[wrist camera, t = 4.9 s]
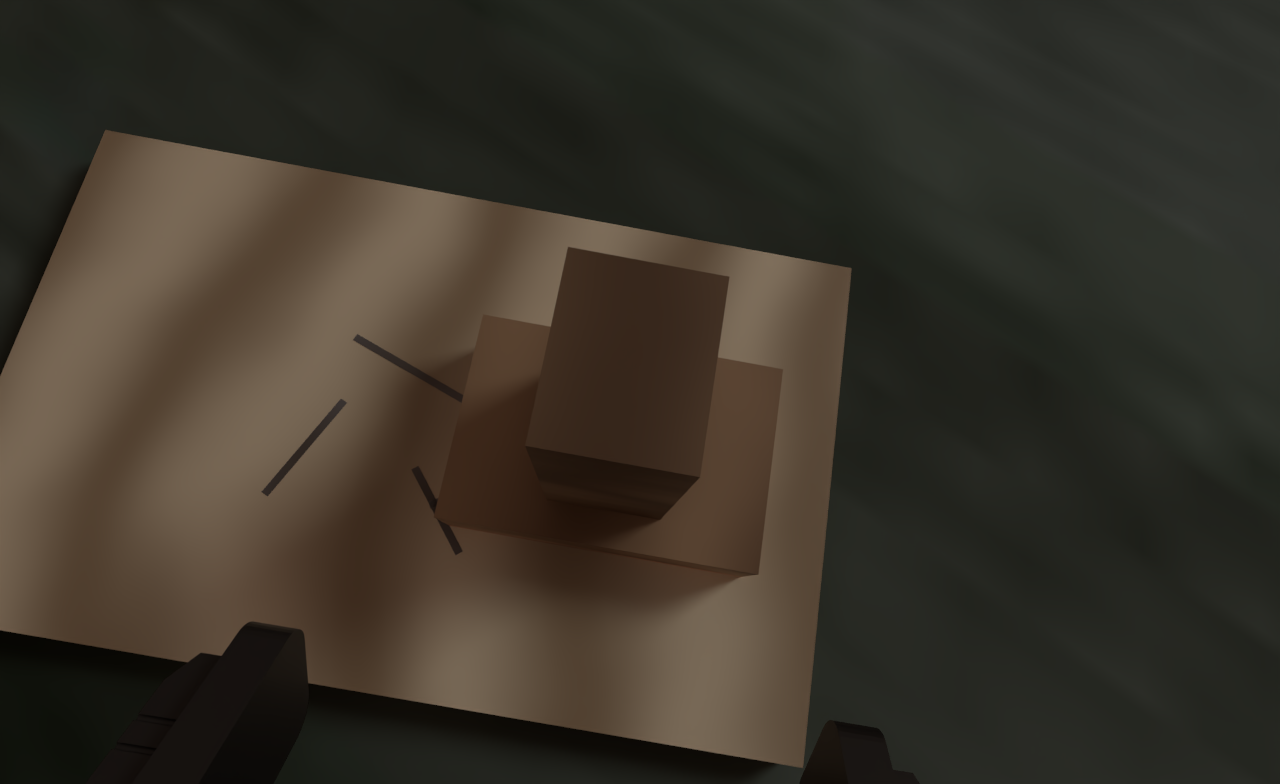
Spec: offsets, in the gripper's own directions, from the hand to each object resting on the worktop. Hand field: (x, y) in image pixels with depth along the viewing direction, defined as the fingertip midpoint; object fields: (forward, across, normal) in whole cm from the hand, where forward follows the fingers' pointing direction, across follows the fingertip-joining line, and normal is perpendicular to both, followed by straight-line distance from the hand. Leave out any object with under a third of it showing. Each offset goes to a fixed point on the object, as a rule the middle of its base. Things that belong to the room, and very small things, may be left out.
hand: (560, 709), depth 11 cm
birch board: (+13, +6, +4) cm, 15 cm away
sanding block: (+12, 0, +3) cm, 12 cm away
